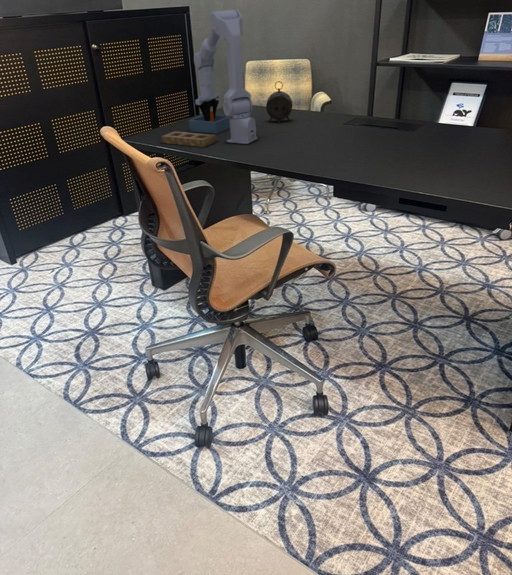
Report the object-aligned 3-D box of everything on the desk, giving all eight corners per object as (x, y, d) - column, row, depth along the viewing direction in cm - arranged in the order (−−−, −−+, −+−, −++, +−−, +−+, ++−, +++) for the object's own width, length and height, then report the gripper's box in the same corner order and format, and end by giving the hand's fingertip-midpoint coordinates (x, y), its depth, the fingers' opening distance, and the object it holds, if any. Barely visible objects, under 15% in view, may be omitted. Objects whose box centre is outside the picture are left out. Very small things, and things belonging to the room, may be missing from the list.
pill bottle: (216, 127, 211) (214, 106, 206) (211, 129, 208) (209, 107, 204) (209, 126, 212) (207, 105, 208) (205, 128, 210) (203, 107, 206)
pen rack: (216, 141, 193) (215, 134, 191) (204, 147, 187) (203, 140, 186) (175, 137, 202) (174, 131, 201) (162, 142, 196) (161, 136, 195)
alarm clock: (292, 119, 217) (291, 79, 208) (292, 122, 212) (291, 81, 204) (267, 120, 218) (265, 80, 210) (266, 123, 213) (264, 83, 205)
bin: (232, 127, 212) (231, 115, 209) (216, 133, 203) (215, 122, 201) (205, 125, 218) (204, 114, 216) (189, 131, 209) (188, 120, 207)
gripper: (208, 81, 209) (212, 115, 216) (187, 87, 198) (191, 123, 205) (222, 82, 205) (225, 116, 212) (202, 88, 195) (206, 124, 202)
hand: (210, 119), depth 209 cm, fingers closed on pill bottle, 3 cm apart
